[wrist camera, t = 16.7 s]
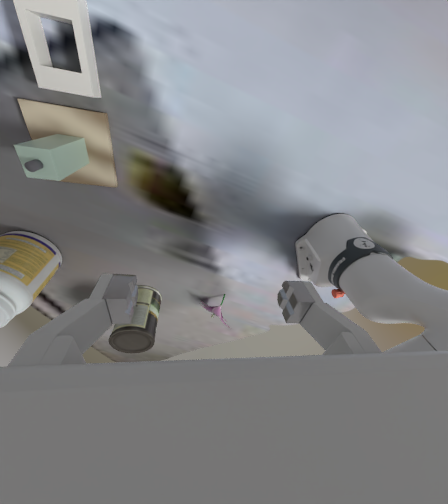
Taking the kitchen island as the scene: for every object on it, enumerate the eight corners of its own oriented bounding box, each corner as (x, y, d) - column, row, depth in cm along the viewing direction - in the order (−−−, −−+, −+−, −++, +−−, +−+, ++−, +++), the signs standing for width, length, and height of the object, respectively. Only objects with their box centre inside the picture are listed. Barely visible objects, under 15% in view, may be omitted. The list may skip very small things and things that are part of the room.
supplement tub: (-13, 228, 42) (-110, 288, 29) (51, 228, 44) (-13, 285, 31) (18, 271, 50) (-47, 335, 36) (72, 270, 51) (29, 330, 38)
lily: (198, 283, 60) (187, 314, 56) (237, 289, 57) (229, 324, 52) (207, 297, 70) (199, 325, 65) (240, 303, 67) (234, 333, 62)
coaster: (117, 185, 40) (116, 187, 39) (48, 178, 38) (45, 179, 37) (107, 113, 33) (104, 113, 32) (21, 98, 31) (17, 98, 30)
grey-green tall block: (89, 163, 36) (53, 184, 27) (64, 159, 36) (18, 181, 26) (84, 137, 34) (42, 152, 25) (57, 133, 33) (3, 147, 24)
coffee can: (168, 295, 61) (162, 339, 49) (148, 312, 64) (138, 357, 53) (138, 279, 55) (123, 325, 44) (118, 299, 59) (100, 345, 48)
